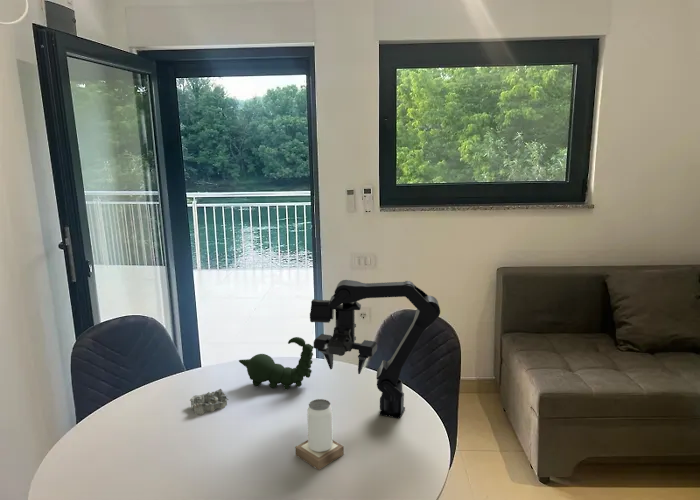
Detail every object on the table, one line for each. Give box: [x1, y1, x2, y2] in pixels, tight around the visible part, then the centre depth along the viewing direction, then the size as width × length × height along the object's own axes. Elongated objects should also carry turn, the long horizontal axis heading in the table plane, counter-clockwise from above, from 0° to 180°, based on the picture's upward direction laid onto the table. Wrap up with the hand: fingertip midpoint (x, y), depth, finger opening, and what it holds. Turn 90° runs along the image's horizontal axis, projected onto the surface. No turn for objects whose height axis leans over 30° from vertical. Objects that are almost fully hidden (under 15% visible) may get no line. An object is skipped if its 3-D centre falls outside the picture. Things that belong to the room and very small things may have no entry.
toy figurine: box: [238, 336, 315, 390], centre depth 172 cm, size 9×19×25 cm
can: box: [306, 398, 334, 452], centre depth 133 cm, size 6×6×12 cm
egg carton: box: [189, 388, 229, 416], centre depth 159 cm, size 11×8×4 cm
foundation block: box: [294, 439, 345, 471], centre depth 134 cm, size 9×9×3 cm
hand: (345, 371), depth 155 cm, fingers open, 9 cm apart
